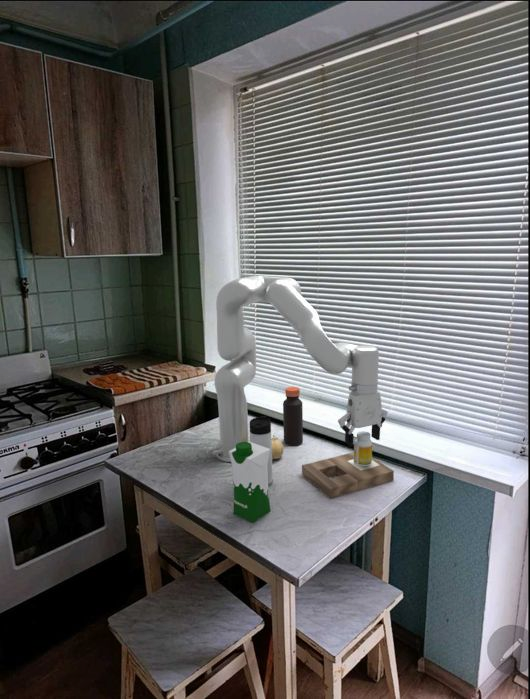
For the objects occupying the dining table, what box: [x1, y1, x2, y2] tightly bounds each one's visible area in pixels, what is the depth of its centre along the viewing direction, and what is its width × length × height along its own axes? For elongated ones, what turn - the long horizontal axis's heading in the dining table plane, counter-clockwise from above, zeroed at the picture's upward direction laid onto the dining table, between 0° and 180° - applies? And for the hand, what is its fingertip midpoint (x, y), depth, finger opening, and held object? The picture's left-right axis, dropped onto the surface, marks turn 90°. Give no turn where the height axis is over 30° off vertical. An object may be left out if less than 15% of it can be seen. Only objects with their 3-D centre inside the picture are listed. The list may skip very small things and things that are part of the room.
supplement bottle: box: [353, 430, 373, 467], centre depth 142 cm, size 5×5×10 cm
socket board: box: [301, 451, 395, 500], centre depth 141 cm, size 22×16×3 cm
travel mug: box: [249, 415, 274, 488], centre depth 137 cm, size 6×7×20 cm
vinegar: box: [282, 386, 304, 447], centre depth 165 cm, size 7×7×20 cm
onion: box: [271, 434, 284, 461], centre depth 155 cm, size 8×8×7 cm
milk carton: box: [229, 441, 271, 524], centre depth 122 cm, size 9×9×20 cm
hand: (362, 441), depth 141 cm, fingers open, 9 cm apart
